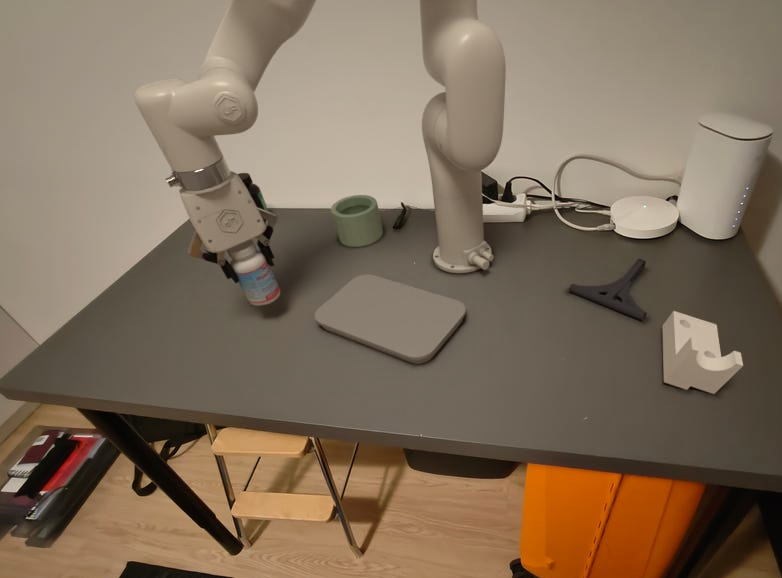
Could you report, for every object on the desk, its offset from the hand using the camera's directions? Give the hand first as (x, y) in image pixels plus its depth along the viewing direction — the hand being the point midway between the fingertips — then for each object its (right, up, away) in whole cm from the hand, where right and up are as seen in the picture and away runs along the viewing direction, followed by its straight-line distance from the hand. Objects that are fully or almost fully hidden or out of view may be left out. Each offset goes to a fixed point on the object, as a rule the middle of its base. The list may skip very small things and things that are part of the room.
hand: (252, 270), depth 83 cm
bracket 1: (+69, -3, +4) cm, 69 cm away
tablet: (+25, -9, +3) cm, 27 cm away
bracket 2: (+74, -16, -10) cm, 76 cm away
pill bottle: (+1, -4, +4) cm, 6 cm away
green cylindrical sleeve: (+15, +14, +27) cm, 33 cm away
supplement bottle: (-14, +19, +36) cm, 43 cm away
